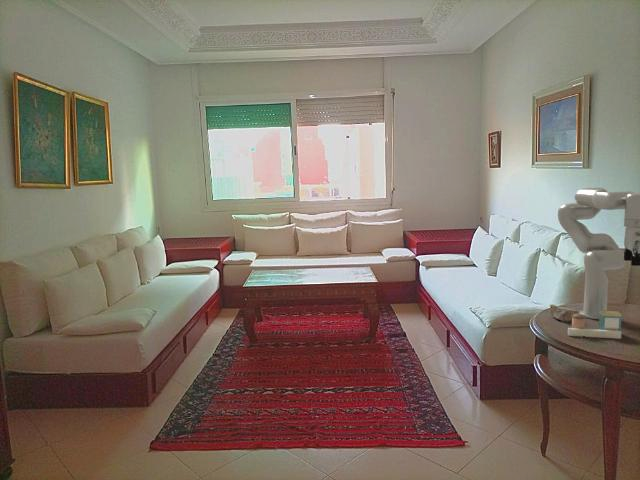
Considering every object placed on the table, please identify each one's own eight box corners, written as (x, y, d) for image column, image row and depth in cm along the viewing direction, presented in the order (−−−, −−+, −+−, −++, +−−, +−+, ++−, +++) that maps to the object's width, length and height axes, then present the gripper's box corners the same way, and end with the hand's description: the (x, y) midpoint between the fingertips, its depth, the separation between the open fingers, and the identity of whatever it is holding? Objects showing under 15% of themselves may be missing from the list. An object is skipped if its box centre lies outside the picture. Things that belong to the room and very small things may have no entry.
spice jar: (569, 330, 216) (570, 313, 215) (583, 331, 215) (584, 313, 214) (572, 334, 211) (573, 316, 210) (585, 335, 210) (586, 317, 209)
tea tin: (598, 331, 214) (599, 310, 213) (616, 332, 212) (618, 311, 211) (601, 335, 209) (602, 314, 208) (620, 336, 207) (622, 315, 206)
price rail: (567, 334, 212) (568, 327, 211) (620, 337, 206) (620, 330, 206) (568, 335, 210) (568, 329, 210) (621, 338, 205) (621, 332, 204)
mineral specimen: (546, 319, 232) (546, 306, 231) (551, 315, 237) (551, 302, 236) (575, 324, 224) (576, 311, 223) (579, 320, 229) (580, 307, 228)
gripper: (652, 226, 196) (649, 267, 199) (637, 220, 212) (635, 259, 215) (631, 225, 198) (628, 267, 201) (618, 220, 214) (615, 258, 217)
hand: (631, 263), depth 208 cm, fingers open, 9 cm apart
